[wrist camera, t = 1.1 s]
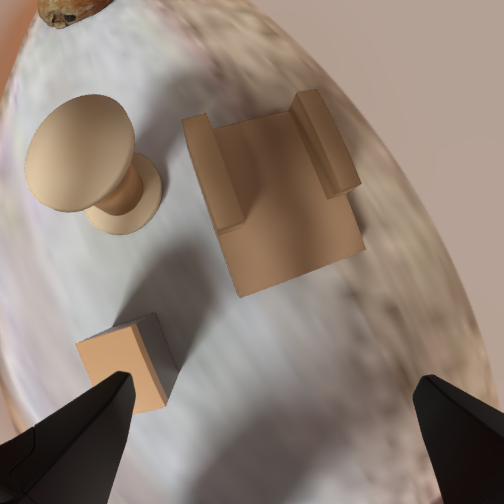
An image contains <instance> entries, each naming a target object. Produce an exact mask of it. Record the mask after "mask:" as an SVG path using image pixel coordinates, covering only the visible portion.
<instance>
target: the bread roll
mask: <svg viewBox="0 0 504 504" xmlns="http://www.w3.org/2000/svg"><path fill="white" fill-rule="evenodd" d="M111 1H112V0H39V1H38V12H39V16H40V17H41V18H42V19H43V21H44V22H45V23H47V25H48V26H51V27H56V28H57V29H62V28H63V27H66V26H68V25H71V24H73V23H76V22H79V21H81V20H82V19H84V18H86V17H89V16H92V15H94V14H96V13H97V12H99V11H101V10H102V9H103V8H105V7H106V6H107V5H108V4H109V3H110V2H111Z"/></svg>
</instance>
